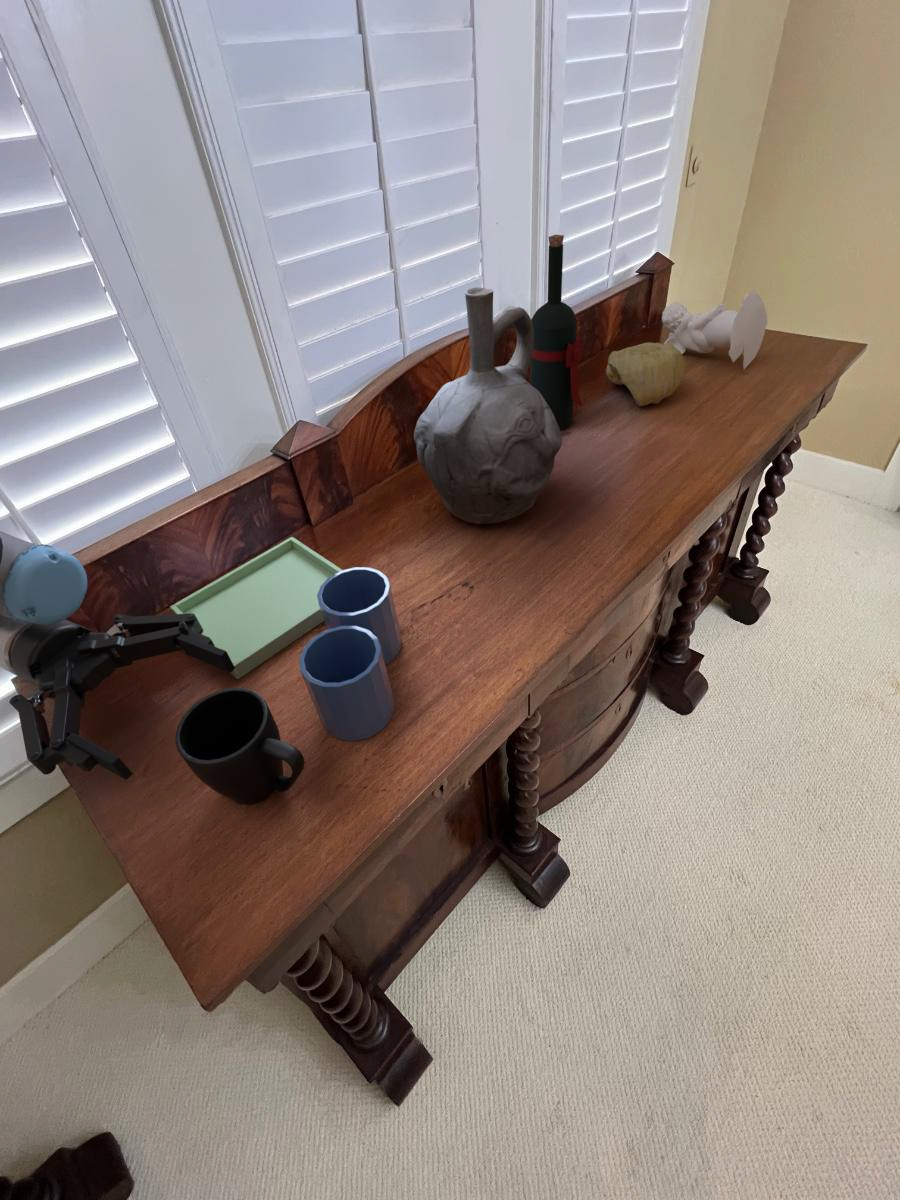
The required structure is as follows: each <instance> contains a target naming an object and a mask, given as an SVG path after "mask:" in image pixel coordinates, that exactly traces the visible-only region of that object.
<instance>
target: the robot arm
mask: <svg viewBox="0 0 900 1200" xmlns="http://www.w3.org/2000/svg"><path fill="white" fill-rule="evenodd" d="M87 590H88V576H87V572H86V570H85V568H84V566H83V565H82V563H81V562H80V561H79V560H78V558H77V557H75V555H73V554H71V553H69V552H68V551H64V550H60V549H57V548H56V547H54V546H51V545H48V544H44V543H43V544H37V543H33V542H30V541H27V540H24V539H21V538H20V537H17V536H14V535H11V534H9V533H5V532H4V531H0V668H1V669H3V670H5V671H7V672H9V673H11V674H12V675H14V676H16V677H19V678H21V679H22V680H23V681H26V682H28V683H29V684H32V685H34V686H35V687H37V688H36V689H35V690H33V691H32V692H30V693H29V694H27V695H26V696H24V695H23V694H16V695H14V696H12V697H11V698H10V699H9V702H8V703H9V704H10V705H11V706H12V707H13V708H14V709H15V710H16V712H18V718H19V722H20V728H21V733H22V739H23V743H24V750H25V753H26V758H27V761H29V763H31V764H32V765H33V766H34V767H35V768H36V769H37V771H39V772H40V773H42V775H45V776H47V775H50V774H51V773H53V772H54V771H55V770H56V768H57V765H59V764H60V763H66V764H67V765H68V766H70V767H73V766H75V767H76V768H78V769H79V770H82V771H83V772H91V771H92V770H93V769H94V768H95V767H96V766H97V765H98V766H100V767H101V768H103V769H105V770H107V771H109V772H111V774H114V775H116V776H117V777H119V778H121V779H123V780H124V781H128V779H130V777H132V776H133V775H134V773H133V772H132V770H130V769H129V767H128V766H127V765H126V764H125V763H124V762H123V760H122V759H121V758H120V757H119V756H117V755H115V754H114V753H111V752H109V751H108V750H106V749H104V748H103V747H100V746H99V745H97V744H95V743H93V742H91V741H89V740H88V739H85V738H84V737H82V736H81V735H80V726H81V717H82V716H81V714H82V708H84V707H85V701H86V693H87V692H89V691H92V692H93V691H94V690H95V689H97V687H99V685H100V684H101V683H102V682H103V680H105V679H106V678H108V677H110V676H111V675H112V674H113V673H115V672H116V670H117V669H118V668H124V667H128V666H131V665H132V664H133V663H134V662H135V661H138V660H139V661H140V660H144V659H148V658H153V657H157V656H161V655H166V654H170V653H171V654H172V653H175V652H179V651H183V652H184V654H185V655H186V656H188V657H190V658H192V659H195V660H197V661H200V662H201V663H205V664H207V665H209V666H212V667H214V668H217V669H220V670H222V671H224V672H225V673H226V672H227V673H229V674H232V673H231V672H232V671H233V670H234V669H235V667H234V665H233V663H232V661H231V659H230V657H229V655H228V653H227V652H226V651H225V650H222V649H220V648H217V647H215V645H214V644H213V642H212V640H211V639H210V637H207V636H205V635H202V633H203V628H202V626H201V625H200V623H199V621H198V619H197V617H196V616H195V614H193V613H188V614H174V613H173V614H156V615H141V616H139V615H138V616H137V615H136V616H132V615H128V614H123V613H117V614H115V615H114V616H113V617H112V622H113V623H114V625H112V627H110V628H109V630H107V631H106V632H94V631H92V630H90V629H89V628H86V627H85V626H83V625H80V624H77V623H75V622H73V621H70V620H69V617H71V616H72V615H74V614H75V613H76V612H77V610H79V608H80V607H81V605H82V604H83V601H84V599H85V596H86V594H87ZM118 655H119V656H118ZM47 698H48V699H55V700H54V707H53V714H52V721H51V728H50V733H49V728H48V725H47V721H46V718H45V717H44V715H43V714H45V712H46V709H45V706H46V705H45V700H46V699H47Z"/></svg>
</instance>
